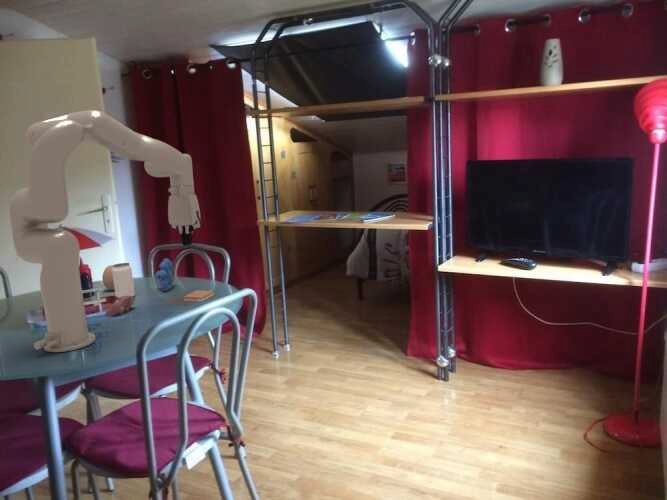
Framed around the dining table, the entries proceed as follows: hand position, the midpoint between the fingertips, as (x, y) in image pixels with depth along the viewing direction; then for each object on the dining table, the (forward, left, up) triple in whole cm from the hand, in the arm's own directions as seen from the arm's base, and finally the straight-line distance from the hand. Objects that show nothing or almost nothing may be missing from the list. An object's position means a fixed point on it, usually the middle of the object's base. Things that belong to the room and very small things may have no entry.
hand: (187, 244), depth 178 cm
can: (-2, +27, -19) cm, 33 cm away
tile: (-2, 0, -17) cm, 18 cm away
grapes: (+8, +17, -19) cm, 26 cm away
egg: (+6, +39, -19) cm, 43 cm away
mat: (-2, +1, -19) cm, 19 cm away
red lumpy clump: (-20, +14, -19) cm, 31 cm away
